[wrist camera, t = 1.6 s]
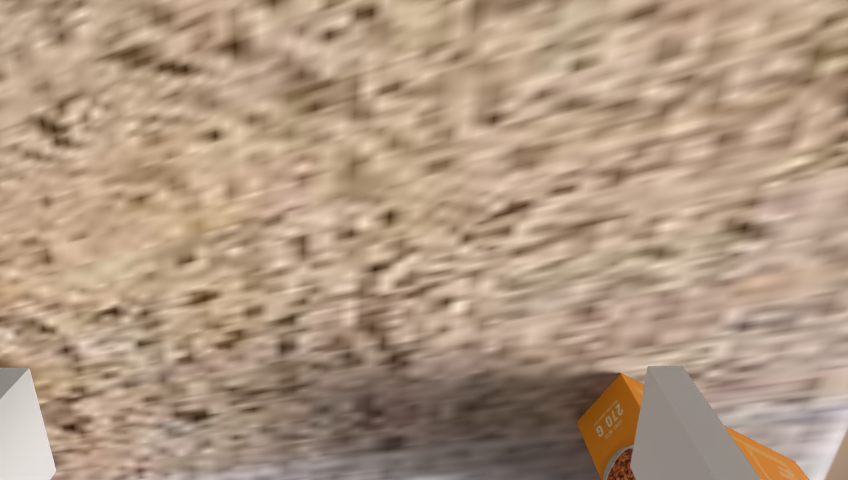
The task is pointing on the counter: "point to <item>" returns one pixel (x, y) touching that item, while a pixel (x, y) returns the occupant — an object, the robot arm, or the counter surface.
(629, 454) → the cereal box
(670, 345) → the counter surface
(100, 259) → the counter surface
